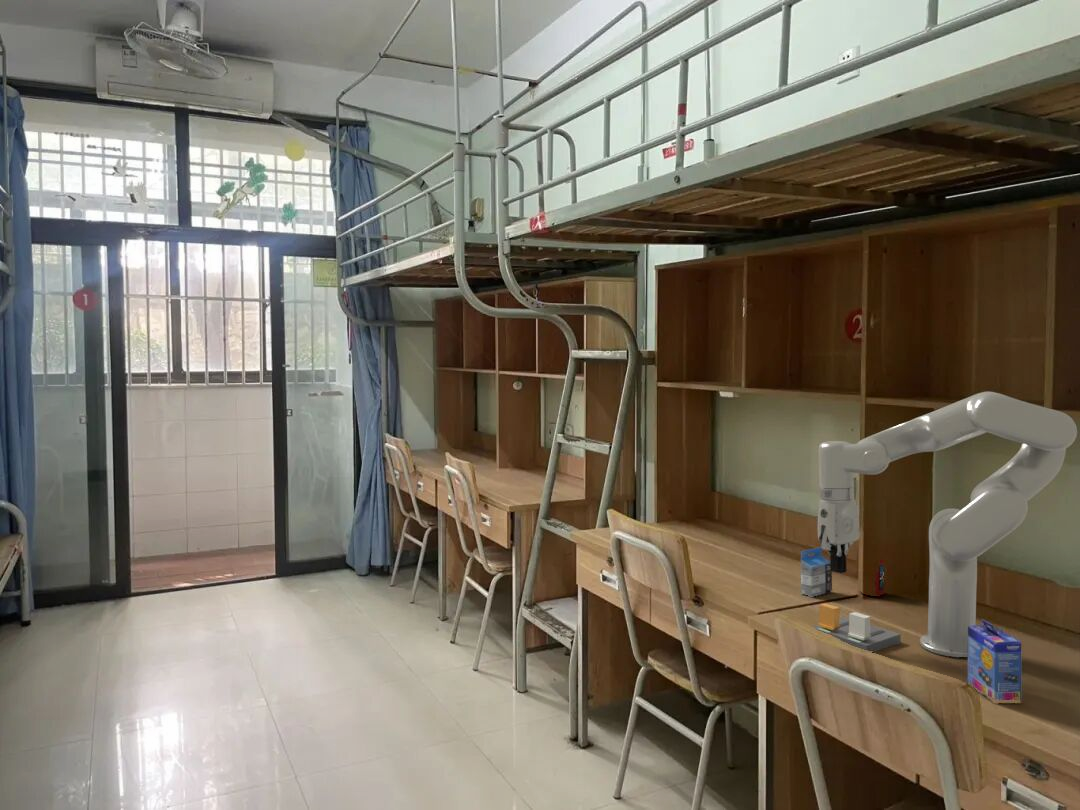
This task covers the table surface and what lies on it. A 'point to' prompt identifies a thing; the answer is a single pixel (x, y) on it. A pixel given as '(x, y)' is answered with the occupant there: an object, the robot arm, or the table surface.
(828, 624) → the orange breaker handle
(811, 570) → the label tape box
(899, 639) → the breaker panel
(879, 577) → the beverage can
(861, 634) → the white breaker handle
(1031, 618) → the table surface
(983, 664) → the ink cartridge box
